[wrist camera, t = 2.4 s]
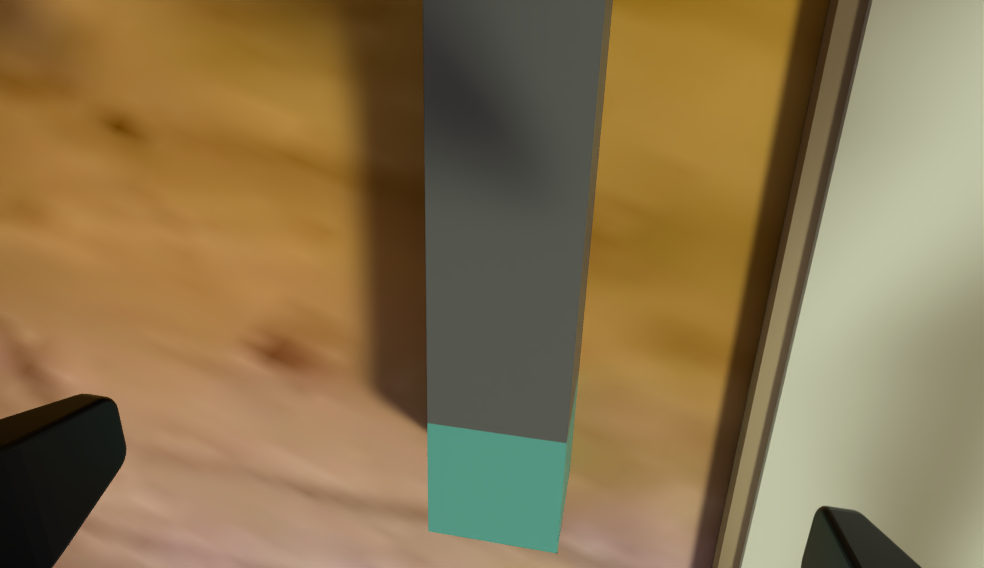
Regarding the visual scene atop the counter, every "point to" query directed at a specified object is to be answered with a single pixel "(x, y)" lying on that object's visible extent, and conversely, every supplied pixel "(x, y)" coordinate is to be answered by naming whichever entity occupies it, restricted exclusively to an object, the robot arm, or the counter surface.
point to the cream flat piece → (875, 300)
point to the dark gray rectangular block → (507, 255)
